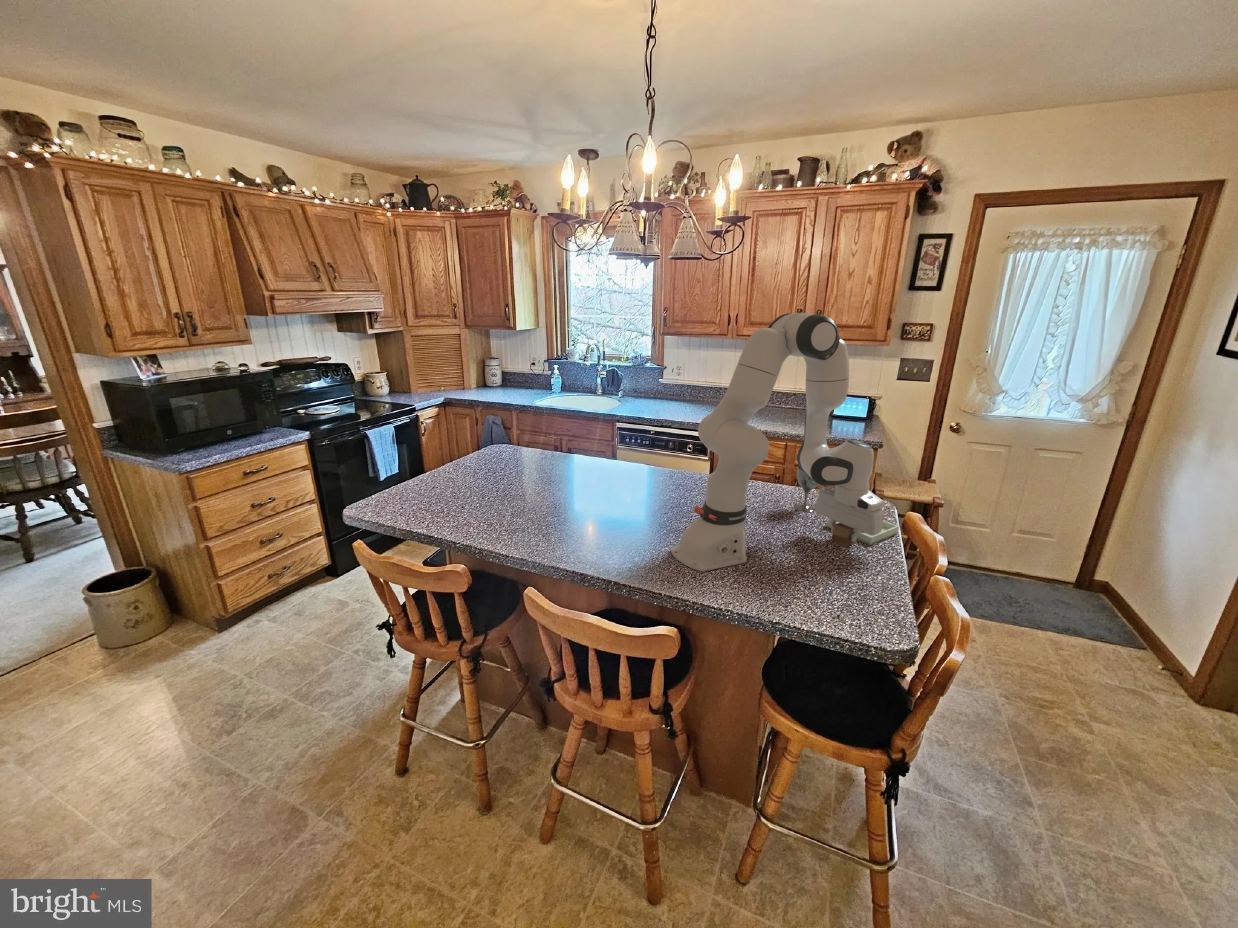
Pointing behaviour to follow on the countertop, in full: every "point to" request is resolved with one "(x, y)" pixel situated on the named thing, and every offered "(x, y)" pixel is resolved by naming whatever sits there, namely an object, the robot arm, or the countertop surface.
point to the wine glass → (805, 490)
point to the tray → (886, 532)
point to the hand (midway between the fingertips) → (843, 536)
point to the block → (842, 534)
